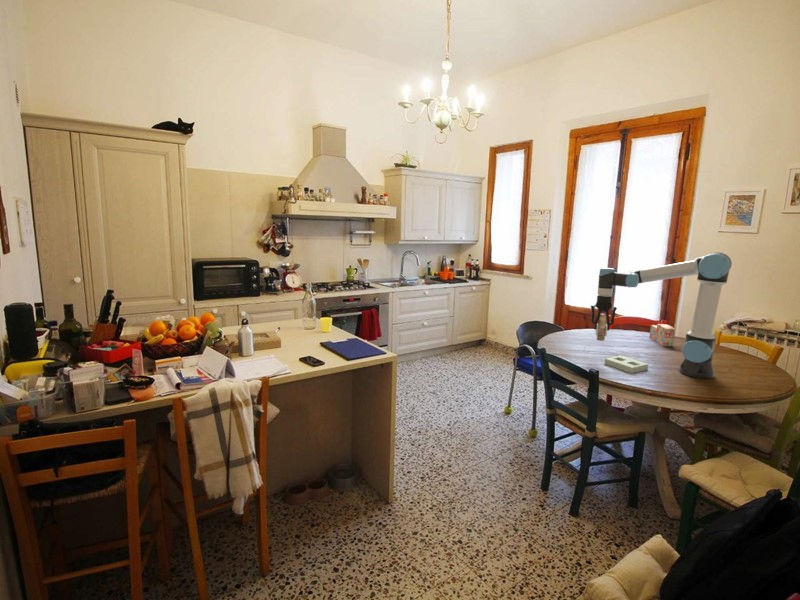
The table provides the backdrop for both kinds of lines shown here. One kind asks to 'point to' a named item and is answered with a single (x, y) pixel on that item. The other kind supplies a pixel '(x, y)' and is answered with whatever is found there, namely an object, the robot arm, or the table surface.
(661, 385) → the table surface
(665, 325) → the stack of blocks
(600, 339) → the peg
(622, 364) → the board
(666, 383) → the table surface
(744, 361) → the table surface
